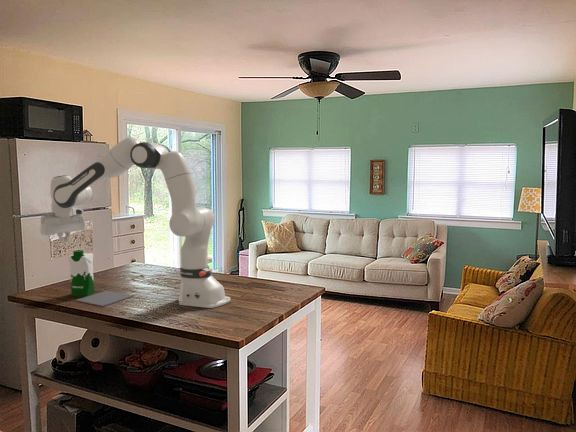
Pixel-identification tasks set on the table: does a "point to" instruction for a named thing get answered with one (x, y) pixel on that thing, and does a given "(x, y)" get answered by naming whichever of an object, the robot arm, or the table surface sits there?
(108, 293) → the mat
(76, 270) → the soya milk
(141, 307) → the table surface
